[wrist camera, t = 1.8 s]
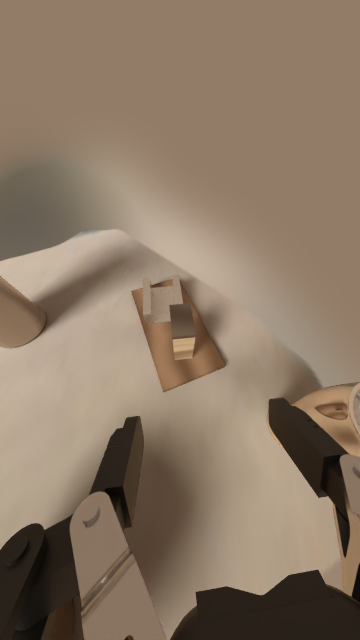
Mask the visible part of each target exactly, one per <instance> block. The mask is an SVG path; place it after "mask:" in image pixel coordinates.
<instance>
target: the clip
mask: <svg viewBox="0 0 360 640" xmlns="http://www.w3.org/2000/svg"><path fill="white" fill-rule="evenodd" d="M172 284H173V286H167V287H156V288H152V285H151V280H150V278H143V316H144V319H145V322H146V324H155V323H165V322H171V318H170V308H169V305H175V304H183V300H182V293H181V287H180V280H179V275H176V276H172Z"/></svg>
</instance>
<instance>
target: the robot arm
mask: <svg viewBox="0 0 360 640" xmlns="http://www.w3.org/2000/svg"><path fill="white" fill-rule="evenodd" d="M45 323H46V315H45V313H44V312H43V311H42V310H41V309H40V308H39V307H38V306H36V305H35V304H34V303H32V302H31V301H30V300H29V299H28V298H26V297H25V296H24V295H23V294H22V293H20V292H19V291H18V290H17V289H15V288H14V287H13V286H12V285H11V284H9V283H8V282H7V281H6V280H4V279H3V278H2V277H1V276H0V346H1V347H4V348H14V347H18V346H22V345H24V344H26V343H28V342H30V341H31V340H33V339H34V338H35V337H36V336H37V335H38V334H39V333H40V332H41V331H42V329H43V328H44V326H45ZM268 421H269V425H270V428H271V430H272V432H273V433H274V434H275V436H276V437H277V439H278V440H279V442H280V443H281V445H282V446H283V447H284V449H285V450H286V452H287V453H288V455H289V456H290V457H291V459H292V460H293V462H294V463H295V465H296V466H297V467H298V469H299V470H300V472H301V473H302V475H303V476H304V477H305V479H306V480H307V482H308V483H309V485H310V486H311V487H312V489H313V490H314V492H315V493H316V495H317V496H318V497H319V498H320V497H326V496H329V498H330V499H331V500H332V502H333V513H334V519H335V526H336V532H337V538H338V544H339V551H340V557H341V564H342V588H343V591H341V590H339V589H337V588H335V587H332V586H330V585H327V584H325V582H324V580H323V578H322V576H321V574H320V572H319V570H314V571H308V572H303V573H297V574H292V575H288V576H287V577H286V578H285V579H283V580H282V581H281V582H280V583H278V584H277V585H276V586H275V587H274V588H272V589H271V590H270V591H269V592H267V593H266V594H265V595H256V594H253V593H249V592H245V591H242V590H238V589H234V588H230V587H221V588H216V589H210V590H205V591H199V592H196V600H197V606H196V607H195V608H193V609H192V610H191V611H190V612H189V613H188V614H187V615H186V616H185V617H184V618H183V619H182V621H181V622H180V624H179V625H178V627H177V628H176V630H175V632H174V633H173V635H172V637H171V639H170V640H360V457H358V456H355V455H351V454H349V453H348V452H347V451H346V450H345V449H344V448H343V447H342V446H341V445H340V444H338V443H337V442H336V441H335V440H334V439H333V438H332V437H331V436H330V435H329V434H328V433H327V432H326V431H325V430H324V429H323V428H322V427H320V426H319V425H318V424H317V423H316V422H315V421H313V419H312V418H311V417H310V416H309V415H308V414H307V413H306V412H305V411H303V410H301V409H300V408H298V407H296V406H291V405H290V404H289V403H288V402H287V401H286V400H285V399H284V398H275V399H270V400H269V416H268ZM143 448H144V437H143V431H142V425H141V419H140V416H134V417H127V418H126V420H125V423H124V426H123V428H120V429H117V430H116V431H115V432H114V433H113V435H112V436H111V437H110V440H109V443H108V445H107V449H106V451H105V453H104V457H103V459H102V462H101V464H100V467H99V470H98V472H97V475H96V478H95V481H94V483H93V486H92V489H91V491H90V494H89V496H88V497H87V498H85V499H84V500H83V501H82V502H81V503H80V505H79V506H78V507H77V509H76V510H75V512H74V514H72V515H71V516H70V517H68V518H66V519H65V520H63V521H61V522H59V523H57V524H55V525H53V526H51V527H50V528H48V529H46V530H44V529H43V526H42V525H40V524H37V523H35V524H30V525H28V526H26V527H24V528H22V529H21V530H20V531H18V532H17V533H16V534H15V535H13V536H12V537H11V538H10V539H9V540H8V541H7V542H6V544H5V545H4V546H3V547H2V548H1V550H0V640H48V638H49V634H50V631H51V628H52V625H53V621H54V618H55V615H56V612H57V609H58V608H59V607H60V606H62V605H63V604H65V603H66V602H68V601H69V600H71V599H72V598H73V597H75V596H76V595H78V594H79V593H80V597H81V604H82V609H81V620H82V628H83V635H84V640H167V638H166V636H165V633H164V631H163V628H162V626H161V623H160V620H159V618H158V615H157V613H156V610H155V608H154V605H153V603H152V600H151V598H150V595H149V593H148V590H147V588H146V585H145V582H144V580H143V577H142V575H141V572H140V570H139V567H138V565H137V562H136V560H135V557H134V555H133V553H132V552H131V551H130V549H129V547H128V544H127V542H126V539H125V536H124V529H125V528H128V527H132V524H133V517H134V510H135V503H136V496H137V489H138V483H139V476H140V469H141V462H142V455H143Z"/></svg>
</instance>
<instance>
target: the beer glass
mask: <svg viewBox="0 0 360 640" xmlns="http://www.w3.org/2000/svg"><path fill="white" fill-rule="evenodd" d="M289 404H290V405H291V406H296V407H298V408H300V409H301V410H303V411H305V412H306V413H307V414H308V415H309V416H310V417H311V418H312V419H313V421H315V422H316V423H317V424H318V425H319V426H320V427H322V428H323V429H324V430H325V431H326V432H327V433H328V434H329V435H330V436H331V437H332V438H333V439H334V440H335V441H336V442H337V443H338V444H340V445H341V446H342V447H343V448H344V449H345V450H346V451H347V452H348V453H349V454H351V455H355V456H358V457H360V382H356V383H349V384H342V385H336V386H331V387H326V388H323V389H320V390H316V391H314V392H312V393H310V394H308V395H306V396H304V397H303V398H301V399H299V400H298V401H296V402H295V403H292V404H291V403H289ZM268 416H269V411H268V414H267V425H268V429H269V431H270V433H271V435H272V437H273V438H274V440H275V441H276V442H277V443H278V444H279V445H280V446H282V445H281V443H280V442H279V440H278V439H277V437H276V436H275V434H274V433H273V432H272V430H271V428H270V425H269V421H268ZM282 447H283V446H282ZM283 448H284V447H283Z"/></svg>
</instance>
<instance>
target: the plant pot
mask: <svg viewBox="0 0 360 640" xmlns="http://www.w3.org/2000/svg"><path fill="white" fill-rule="evenodd" d="M73 630H74V606H73V601H72V599H71V600H69V601H68V602H66V603H65V604H63V605H62V606H60V607H59V608H58V609H57V612H56V615H55V618H54V621H53V625H52V628H51V631H50V634H49V638H48V640H72V637H73Z"/></svg>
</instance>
